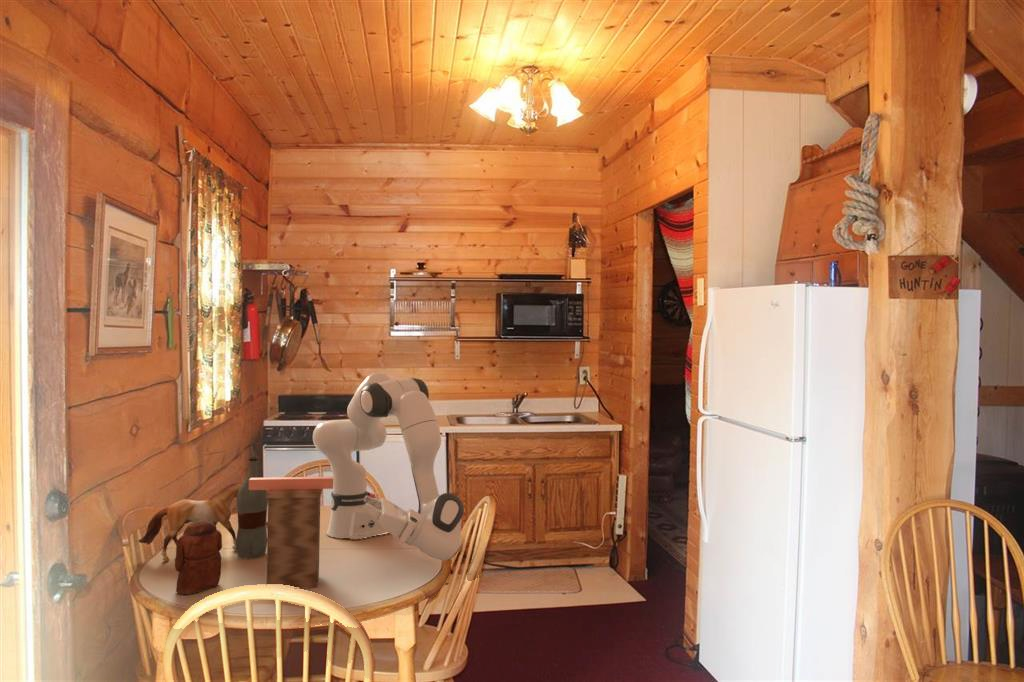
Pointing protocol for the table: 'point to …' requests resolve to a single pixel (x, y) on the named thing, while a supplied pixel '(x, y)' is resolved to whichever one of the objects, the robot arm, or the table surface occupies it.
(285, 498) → the stand
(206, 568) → the wooden figurine
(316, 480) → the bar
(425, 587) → the table surface
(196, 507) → the horse figurine
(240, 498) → the bottle
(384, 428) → the robot arm
